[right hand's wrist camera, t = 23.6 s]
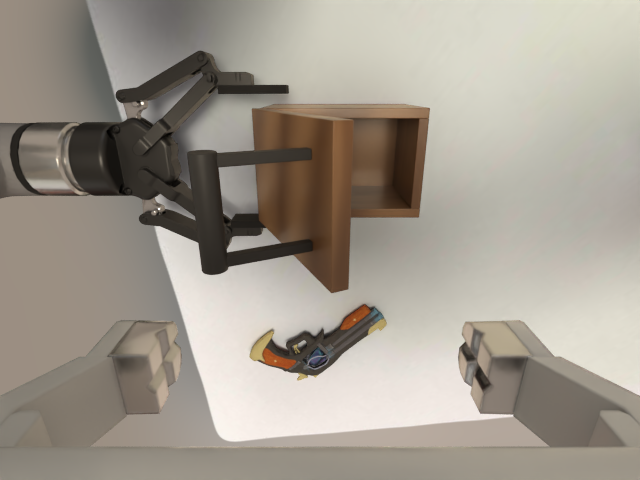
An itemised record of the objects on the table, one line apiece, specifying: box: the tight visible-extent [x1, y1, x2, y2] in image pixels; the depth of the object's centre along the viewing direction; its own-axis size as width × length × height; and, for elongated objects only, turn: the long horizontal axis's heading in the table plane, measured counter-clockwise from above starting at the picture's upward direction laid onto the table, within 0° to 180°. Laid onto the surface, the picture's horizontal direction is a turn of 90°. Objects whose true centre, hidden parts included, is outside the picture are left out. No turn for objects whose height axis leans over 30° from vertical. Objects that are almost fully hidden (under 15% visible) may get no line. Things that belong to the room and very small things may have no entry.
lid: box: [187, 108, 354, 293], centre depth 27 cm, size 16×10×8 cm
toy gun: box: [250, 305, 387, 380], centre depth 55 cm, size 3×19×10 cm
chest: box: [263, 104, 430, 217], centre depth 41 cm, size 15×10×11 cm
